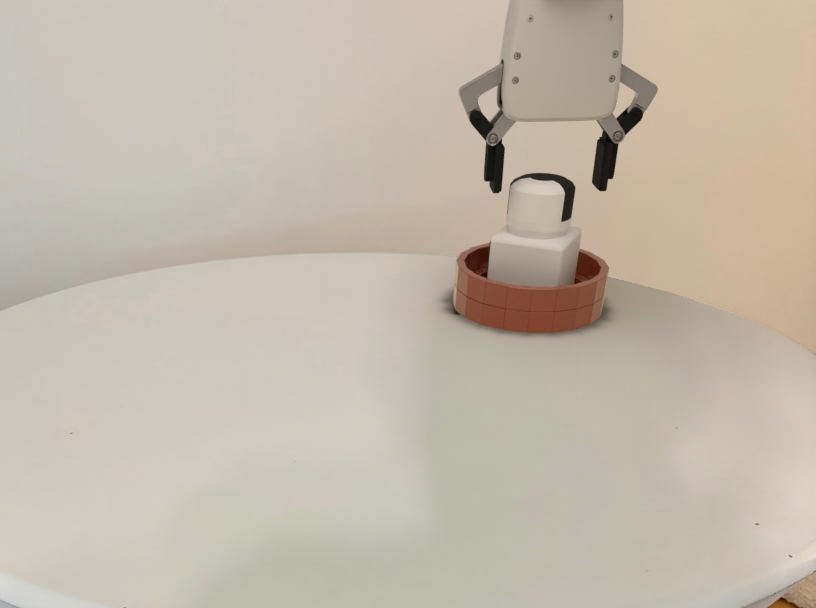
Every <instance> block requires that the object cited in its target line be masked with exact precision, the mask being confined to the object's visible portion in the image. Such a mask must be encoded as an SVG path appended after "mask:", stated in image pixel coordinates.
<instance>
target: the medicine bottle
mask: <svg viewBox="0 0 816 608" xmlns="http://www.w3.org/2000/svg"><path fill="white" fill-rule="evenodd" d="M576 188H577V187H576V185H575V183H574V182H573V181H572V180H570V179H569V178H567V177H565V176H563V175H560V174H557V173H549V172H530V173H525V174H522V175H520V176H518V177H516V178H515V177H514V179H513V180H512V181H511V182H510V183H509V189H508V202H507V210H506V220H505V221H506V224H505V226H503V227H502V228H501V229H500V230H499V231H498V232H496V233H495V234H494V235H493V236H492V237H490V240H489V243H490V246H489V256H488V266H487V277H486V278H487V279H489V280H493V281H498V282H502V283H507V284H512V285H522V286H531V287H556V286H564V285H573V284H574V280H575V274H576V267H577V260H578V254H579V248H580V246H581V240H582V235H583V233H582V232H583V230H582V228H581V227H579V226H571V222H572V215H573V210H574V203H575V196H576Z"/></svg>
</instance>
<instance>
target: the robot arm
mask: <svg viewBox="0 0 816 608" xmlns="http://www.w3.org/2000/svg"><path fill="white" fill-rule="evenodd" d="M501 41H502V43H501V48H500V56H499V64H497V65H495V66H493V67H492V68H490V69H488V70H487V71H485V72H483V73H482V74H480V75H478V76H476V77H475V78H472V80H470V81H468V82H466V83H465V84H463V85H461V86H460V87H459V88H458V92H457V93H458V94H457V95H458V97H459V99H460V101H461V104H462V107H463V109H464V112H465V114H466V116H467V119H468V121H469V123H470V124H471V126H472V127H473V128H474V129H475V131H477V133H478V134H479V135H480V136H481V137H482V138H483V140H484V142H485V152H484V165H483V181H484V182H488V183H489V184H488V185H489V188H490V190H491V192H492V194H500V193H501V192H502V189H503V179H504V167H505V164H504V163H505V153H506V148H505V147H506V146H505V145H504V143H503V138H504V137H505V135H506V134H507V133H508V132H509V131H510V129H511V128H512V127H513V126H514V125H515V123H516V122H519V123H520V122H521V123H547V122H548V123H549V122H550V123H551V122H552V123H553V122H587V121H588V122H589V121H592V122H593V121H596V123H597V124H598V125H599V127H600V129H601V130H602V132H601V136H599V138H598V139H597V140H596V147H595V155H594V161H593V162H594V163H593V170H592V177H591V184H592V185H593V186H594V187H595V188H596V190H598V191H599V192H606V191H608V190H607V189H608V183H609V180H613V179H614V176H615V173H616V172H615V171H616V164H617V158H618V150H619V144H620V143H622V142H623V141H624V139H625V136H626V135H627V134H629V132H631V131H632V130H633V129H634V128H635V127H636V126H637V125H638V124H639V123H640V122H641V121H642V119H643V116H644V114H645V112H646V111H647V110H648V108H649V107H650V106H651V104H652V102H653V101H654V98H655V97H656V95H657V93H658V91H659V88H658V85H656V84H655V83H654V82H652V81H650V80H649V79H648V78H646V77H644V76H642V75H641V74H639V73H638V72H636V71H635V70H632V69H631V68H630V67H628V66H626V64H623V63H622V59H623V44H624V43H623V42H624V0H509V2H508V7H507V12H506V16H505V23H504V29H503V35H502V40H501ZM621 84H623V85H624V86H626V87H627V88H629V89H631V90H632V91H633V92H634V95H633V99H632V100H631V103H630V104H629V106H627V107H626V108H625V109H624V110H623V111H622V112H621V113H620V114H619V115H618V116H617V117H616V116H615V115H614V111H615V109H616V107H617V103H618V99H619V92H620V85H621ZM494 88H496V105H497V107H498V110H497V112H496V113H495V114H494V115H493V117H492V118H490V120H489V119H488V118H487V117H486V116H485V114H484V113H483V112H482V110H481V107H480V105H479V98H480V97H481V96H482V95H484V94H485V93H488V92H489V91H490V90H492V89H494Z"/></svg>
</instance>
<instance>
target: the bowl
mask: <svg viewBox="0 0 816 608" xmlns="http://www.w3.org/2000/svg"><path fill="white" fill-rule="evenodd" d="M489 246H490V242H486V243H483V244H479V245H474V246H471V247H469V248H467V249H465V250H464V251H461V252H460V253H459V255H458V257H457V258H456V260H455V270H454V283H453V295H452V296H453V297H452V303H453V304H452V305H453V306H454V309H455V312H457V313H458V314H459V315H460V316H462V317H464V318H465V319H467V320H470V321H472V322H475V323H476V324H478V325H481V326H485V327H488V328H492V329H497V330H501V331H509V332H515V333H523V334H524V333H525V334H526V333H527V334H555V333H561V332H568V331H575V330H577V329H580V328H584V327H588V326H590V325H592V324H593V323H594V322H596V321H597V320H598V319H600V318H601V315H602V312H603V308H604V307H603V306H604V302H605V297H606V291H607V285H608V284H607V283H608V278H609V274H610V273H609V272H610V266H609V265H608V263H607V262H606V261H605V259H603V258H602V257H600V256H599V255H597V254H595V253H594V252H591V251H588V250H585V249H583V248H580V247H579V254H578V260H577V267H576V274H575V280H574V284H573V285H564V286H556V287H531V286H522V285H512V284H507V283H502V282H498V281H493V280H489V279H487V278H486V277H487V266H488V256H489Z"/></svg>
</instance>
